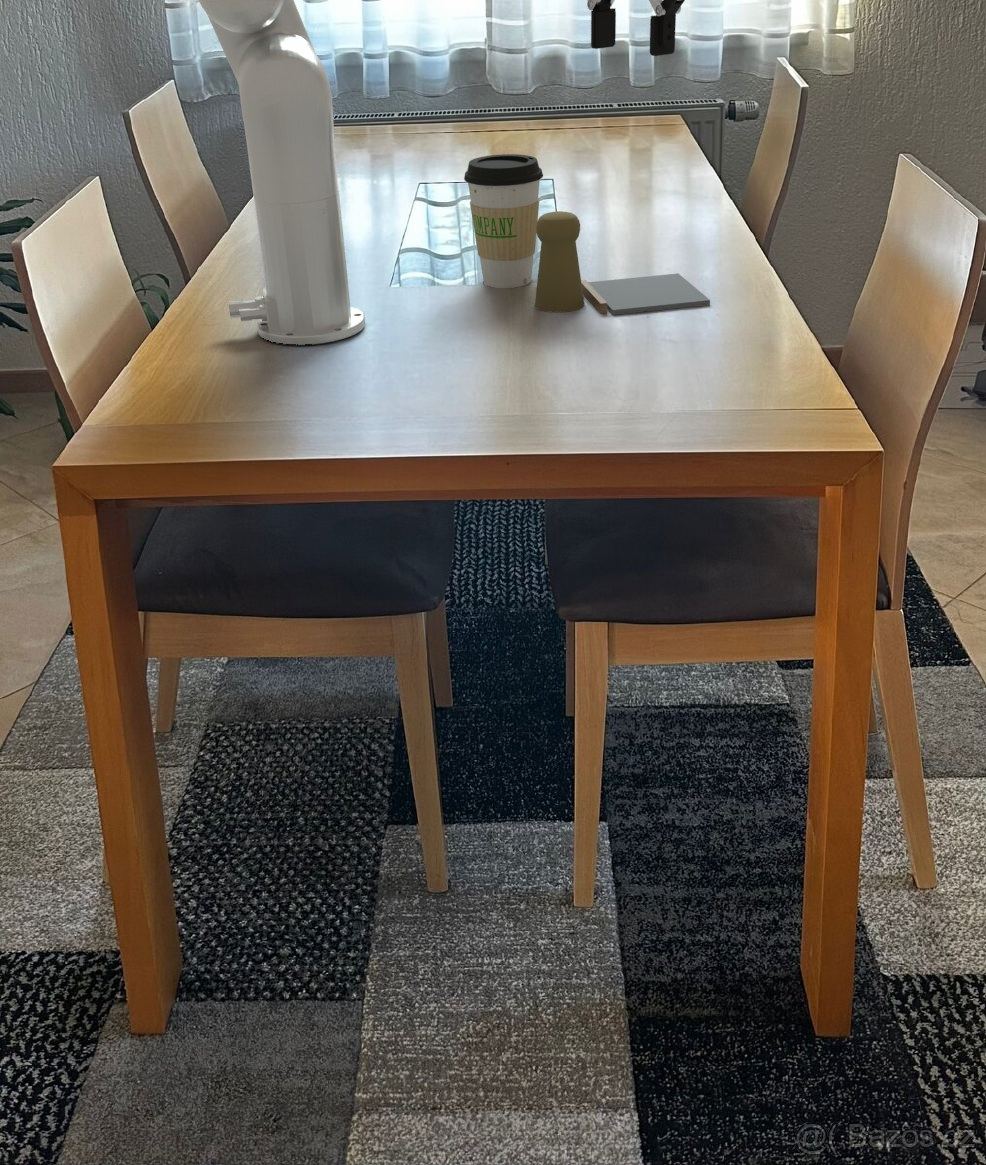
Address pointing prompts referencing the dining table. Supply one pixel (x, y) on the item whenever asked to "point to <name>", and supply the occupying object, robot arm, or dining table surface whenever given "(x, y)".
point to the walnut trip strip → (594, 297)
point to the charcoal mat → (649, 293)
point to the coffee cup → (505, 216)
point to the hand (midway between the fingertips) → (631, 50)
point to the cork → (558, 263)
